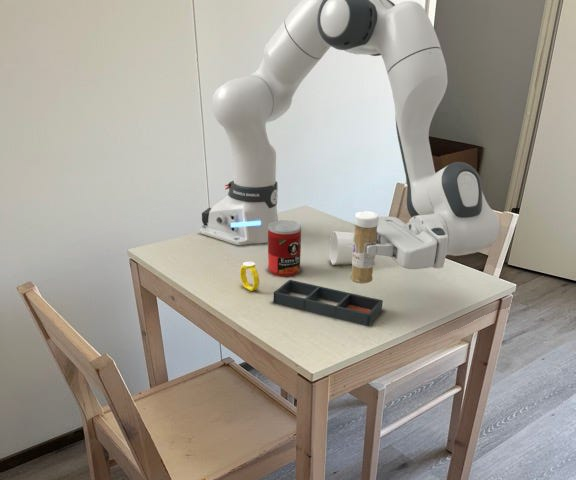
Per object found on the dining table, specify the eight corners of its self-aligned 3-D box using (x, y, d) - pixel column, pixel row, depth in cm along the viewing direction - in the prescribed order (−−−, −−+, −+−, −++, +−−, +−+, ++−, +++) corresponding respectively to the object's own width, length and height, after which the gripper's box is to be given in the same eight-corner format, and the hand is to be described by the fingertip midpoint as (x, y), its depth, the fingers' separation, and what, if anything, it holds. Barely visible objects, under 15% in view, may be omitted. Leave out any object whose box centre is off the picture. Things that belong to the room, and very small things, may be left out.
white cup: (378, 262, 144) (338, 261, 142) (367, 266, 151) (329, 266, 149) (377, 228, 143) (337, 228, 141) (366, 235, 151) (328, 235, 149)
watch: (262, 292, 133) (262, 267, 130) (251, 295, 132) (251, 269, 129) (248, 282, 137) (247, 258, 134) (237, 285, 136) (236, 260, 133)
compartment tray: (273, 303, 129) (273, 292, 127) (289, 289, 135) (289, 279, 133) (369, 326, 121) (370, 315, 119) (381, 310, 127) (382, 300, 125)
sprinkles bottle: (346, 277, 122) (350, 212, 114) (365, 273, 123) (371, 209, 116) (357, 286, 118) (362, 219, 111) (377, 282, 120) (383, 216, 112)
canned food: (279, 279, 139) (280, 233, 133) (261, 268, 145) (261, 223, 138) (306, 272, 143) (308, 227, 137) (288, 261, 148) (288, 218, 142)
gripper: (401, 206, 127) (340, 212, 123) (452, 239, 110) (384, 247, 107) (398, 235, 130) (339, 241, 126) (447, 271, 114) (381, 280, 110)
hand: (360, 244), depth 116 cm, fingers closed on sprinkles bottle, 4 cm apart
